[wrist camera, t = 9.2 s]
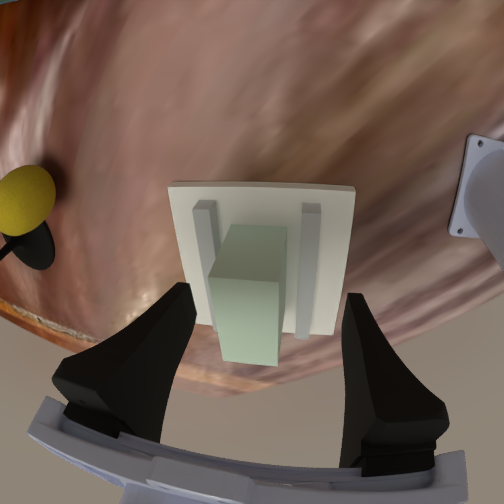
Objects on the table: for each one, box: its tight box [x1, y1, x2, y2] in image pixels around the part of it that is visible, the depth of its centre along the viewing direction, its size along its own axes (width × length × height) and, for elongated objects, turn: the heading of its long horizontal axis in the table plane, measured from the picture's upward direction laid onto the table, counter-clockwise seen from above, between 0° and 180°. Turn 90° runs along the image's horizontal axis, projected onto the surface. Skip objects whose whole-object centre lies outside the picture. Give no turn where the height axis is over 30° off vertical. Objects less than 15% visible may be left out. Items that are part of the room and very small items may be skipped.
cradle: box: [167, 181, 356, 339], centre depth 24 cm, size 13×14×2 cm
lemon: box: [0, 165, 56, 236], centre depth 20 cm, size 6×6×8 cm
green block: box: [208, 224, 287, 366], centre depth 22 cm, size 8×4×6 cm, turn 3°
